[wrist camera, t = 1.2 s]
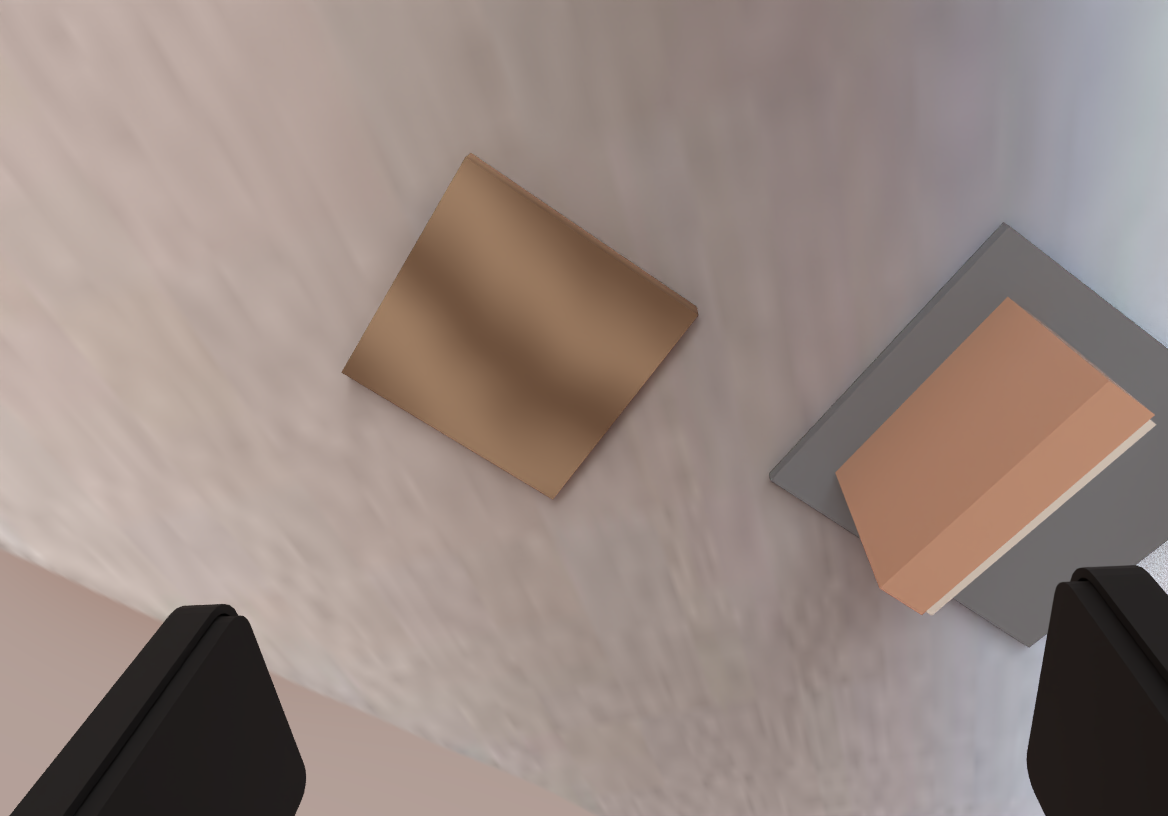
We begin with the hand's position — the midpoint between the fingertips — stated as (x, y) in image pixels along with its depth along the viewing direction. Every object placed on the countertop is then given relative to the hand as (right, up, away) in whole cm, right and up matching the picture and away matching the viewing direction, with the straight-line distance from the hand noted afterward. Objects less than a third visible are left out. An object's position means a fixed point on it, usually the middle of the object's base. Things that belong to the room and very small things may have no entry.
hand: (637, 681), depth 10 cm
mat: (+18, +1, +26) cm, 32 cm away
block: (+14, +3, +24) cm, 28 cm away
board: (-4, +6, +25) cm, 26 cm away
